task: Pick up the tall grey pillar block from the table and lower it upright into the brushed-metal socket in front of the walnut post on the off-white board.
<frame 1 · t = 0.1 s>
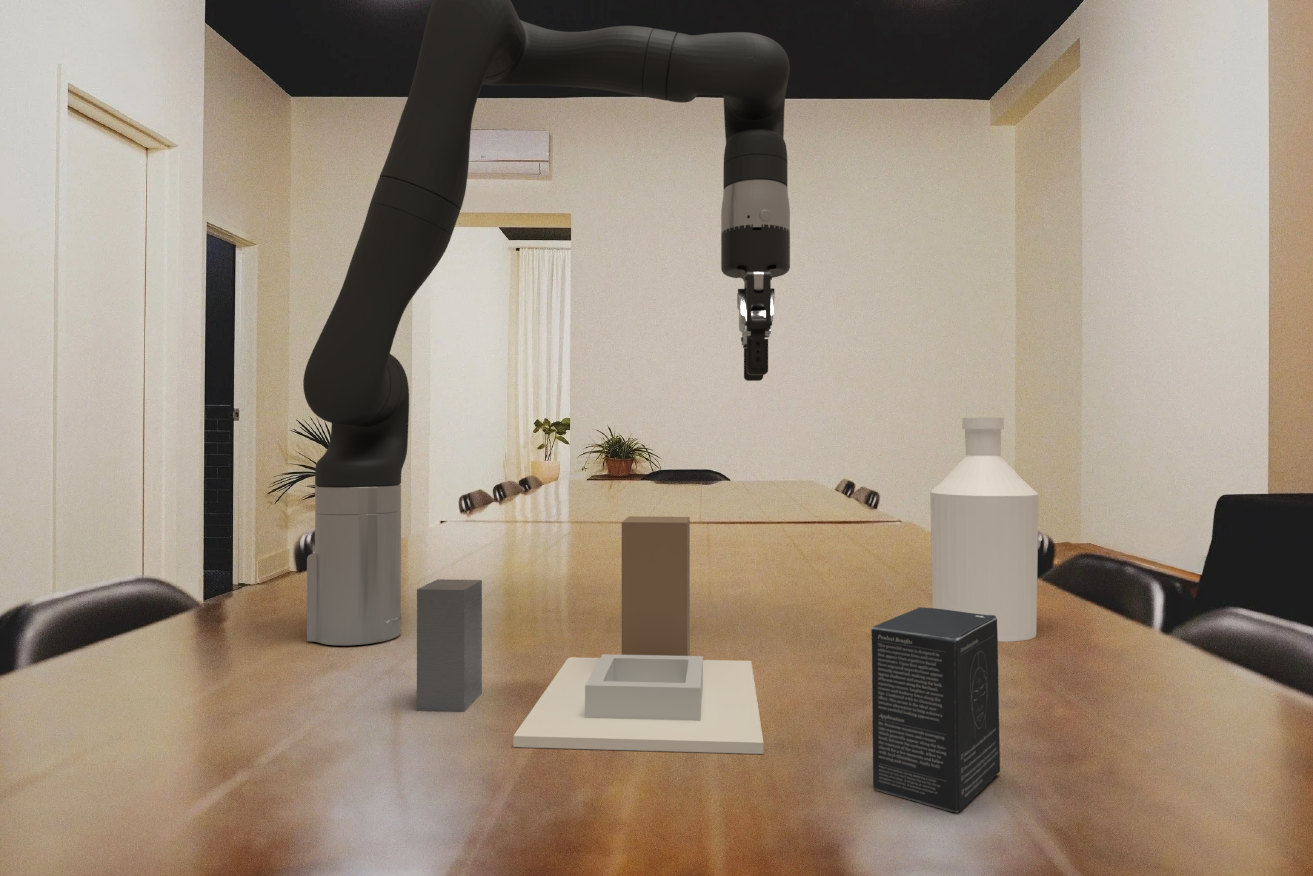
hand: (755, 377, 90), 29 cm above the table, fingers open, 8 cm apart
box: (937, 786, 53), on the table
tall grey pillar block: (450, 701, 70), on the table
post base: (649, 702, 70), on the table
bottle: (983, 631, 97), on the table
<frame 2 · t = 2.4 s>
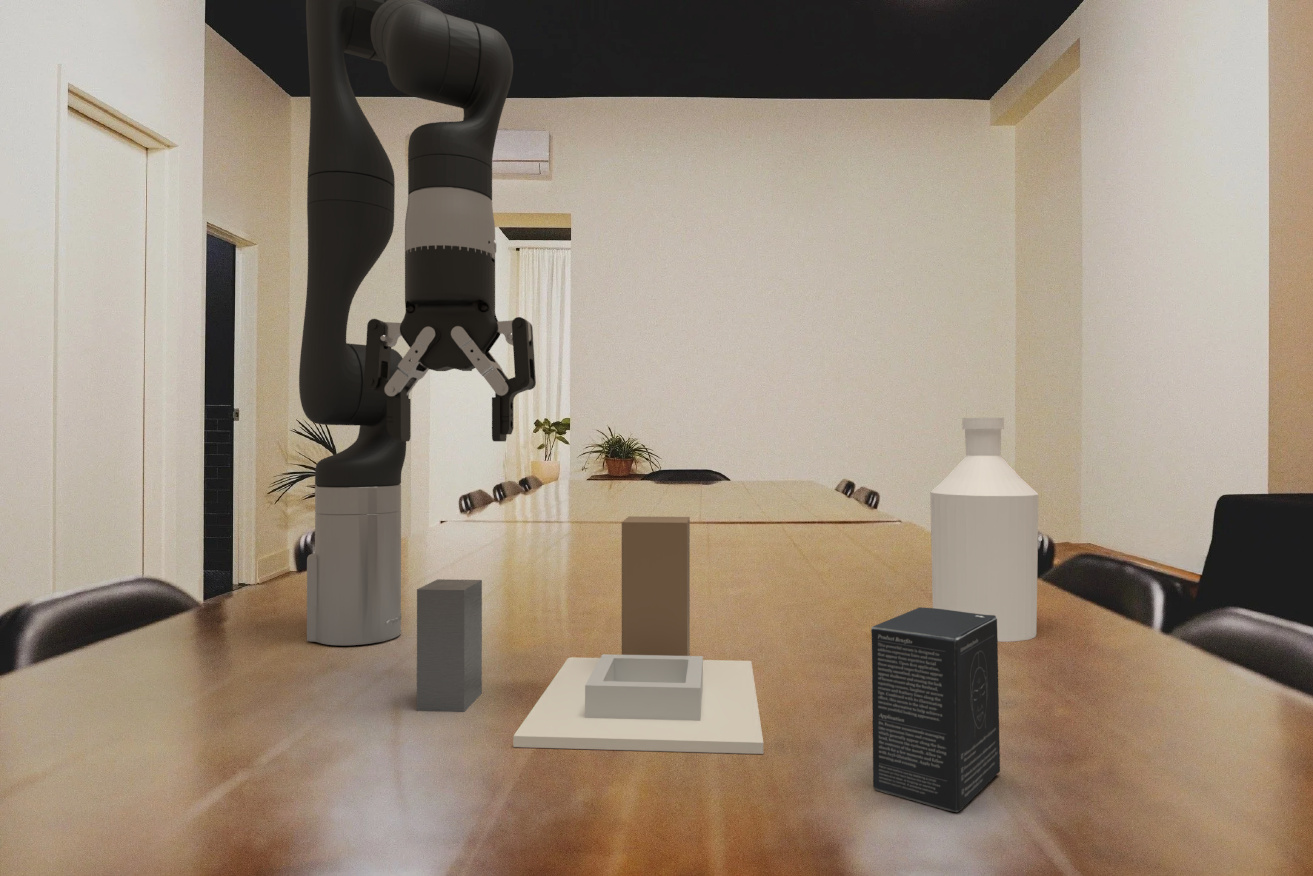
hand: (450, 441, 70), 22 cm above the table, fingers open, 8 cm apart
nothing on the table moved.
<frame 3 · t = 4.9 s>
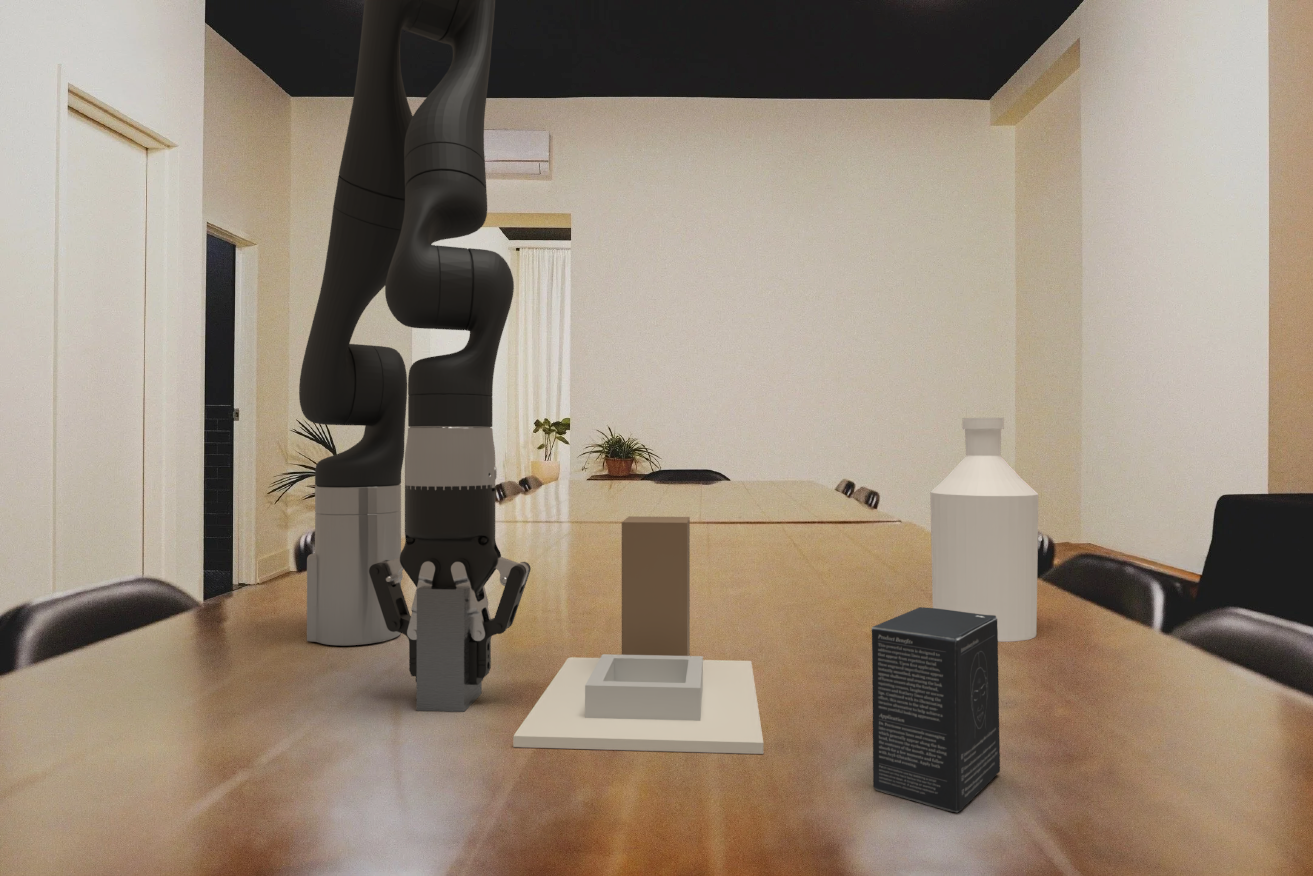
hand: (450, 680, 70), 2 cm above the table, fingers closed on tall grey pillar block, 4 cm apart
tall grey pillar block: (450, 701, 70), on the table, touching gripper
everything else where it was.
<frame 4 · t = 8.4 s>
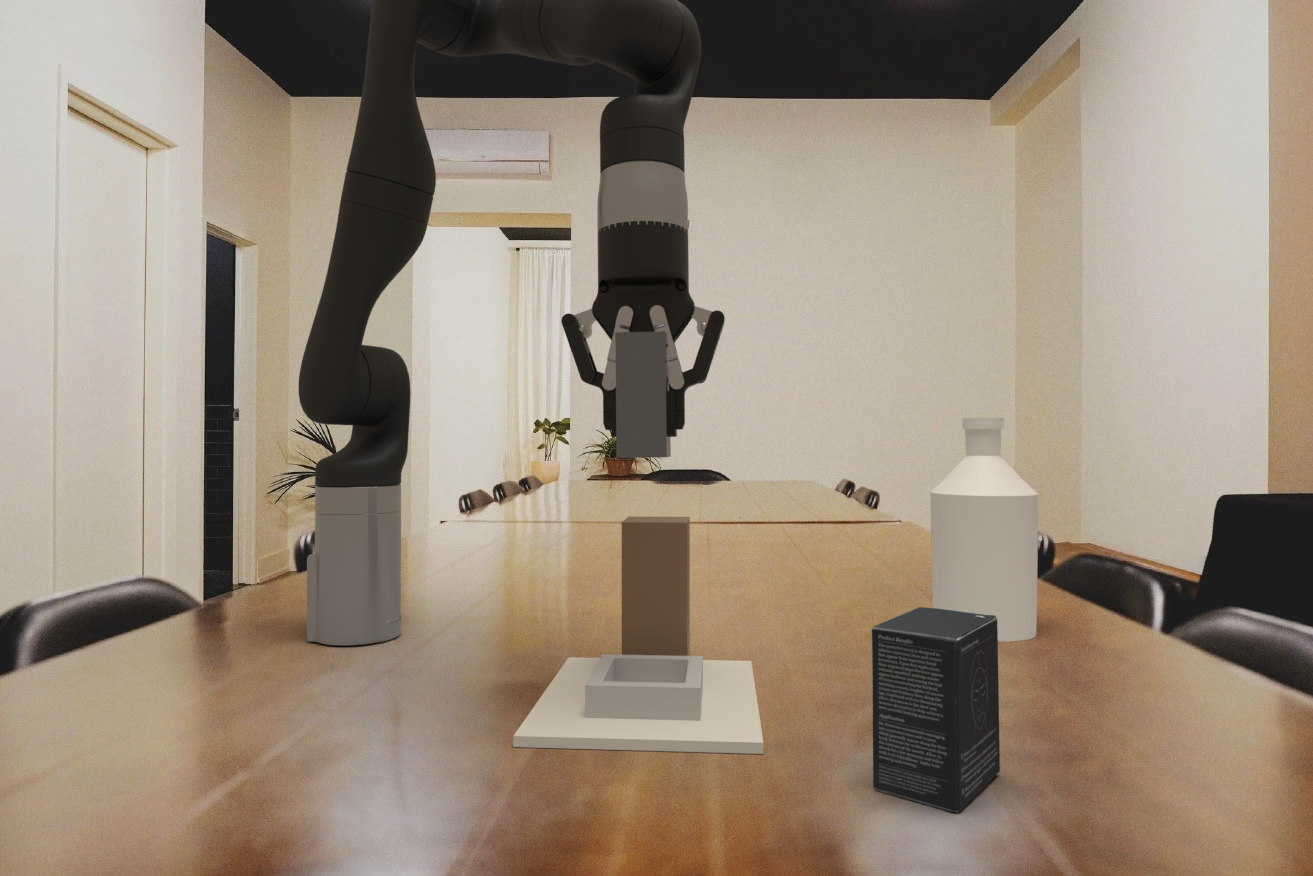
hand: (644, 435, 68), 23 cm above the table, fingers closed on tall grey pillar block, 4 cm apart
tall grey pillar block: (644, 457, 68), point 21 cm above the table, touching gripper
everything else where it was.
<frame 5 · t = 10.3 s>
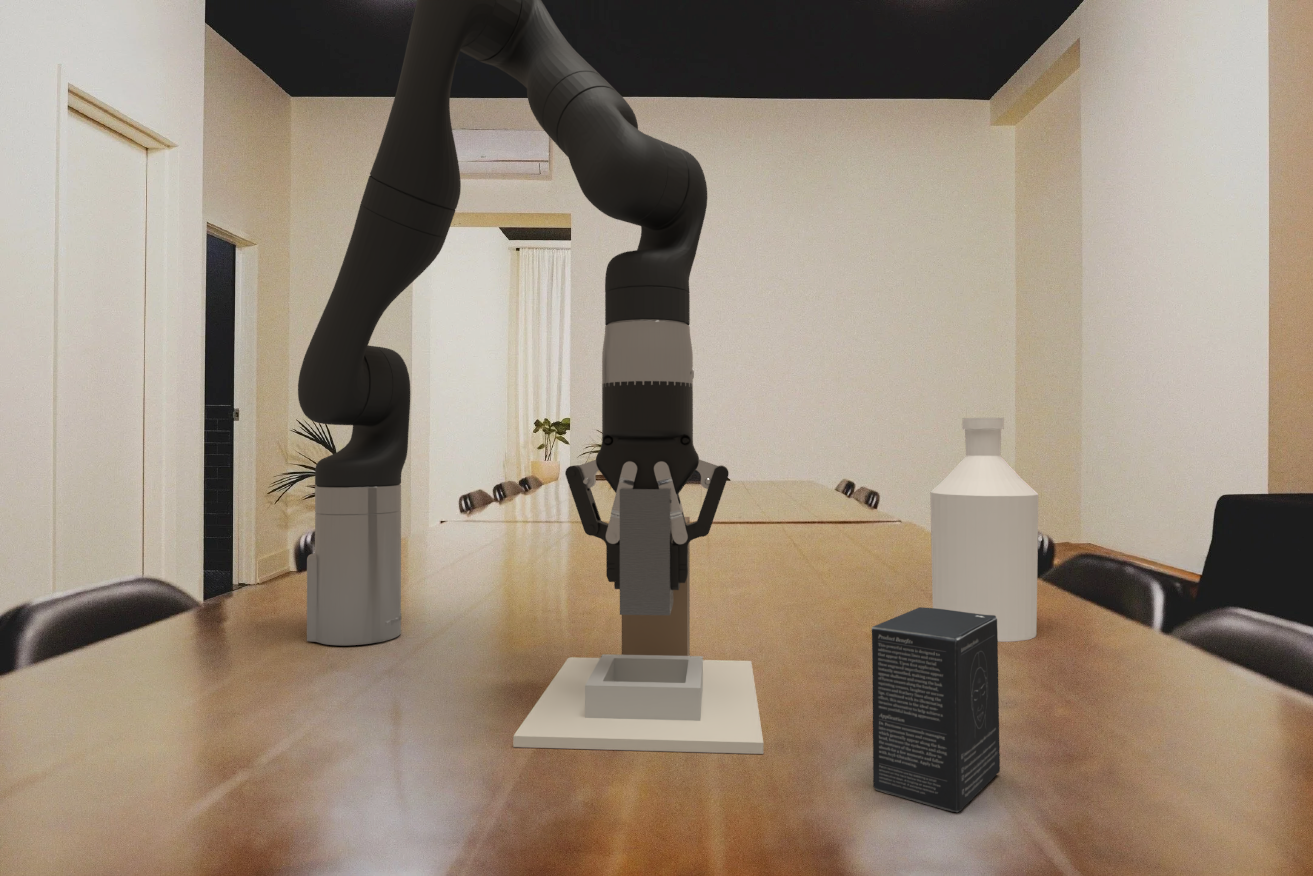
hand: (647, 587, 68), 10 cm above the table, fingers closed on tall grey pillar block, 4 cm apart
tall grey pillar block: (647, 608, 68), point 8 cm above the table, touching gripper
everything else where it was.
when the fingers open (4 cm above the table, at t = 11.9 s): tall grey pillar block drops 1 cm, resting on post base.
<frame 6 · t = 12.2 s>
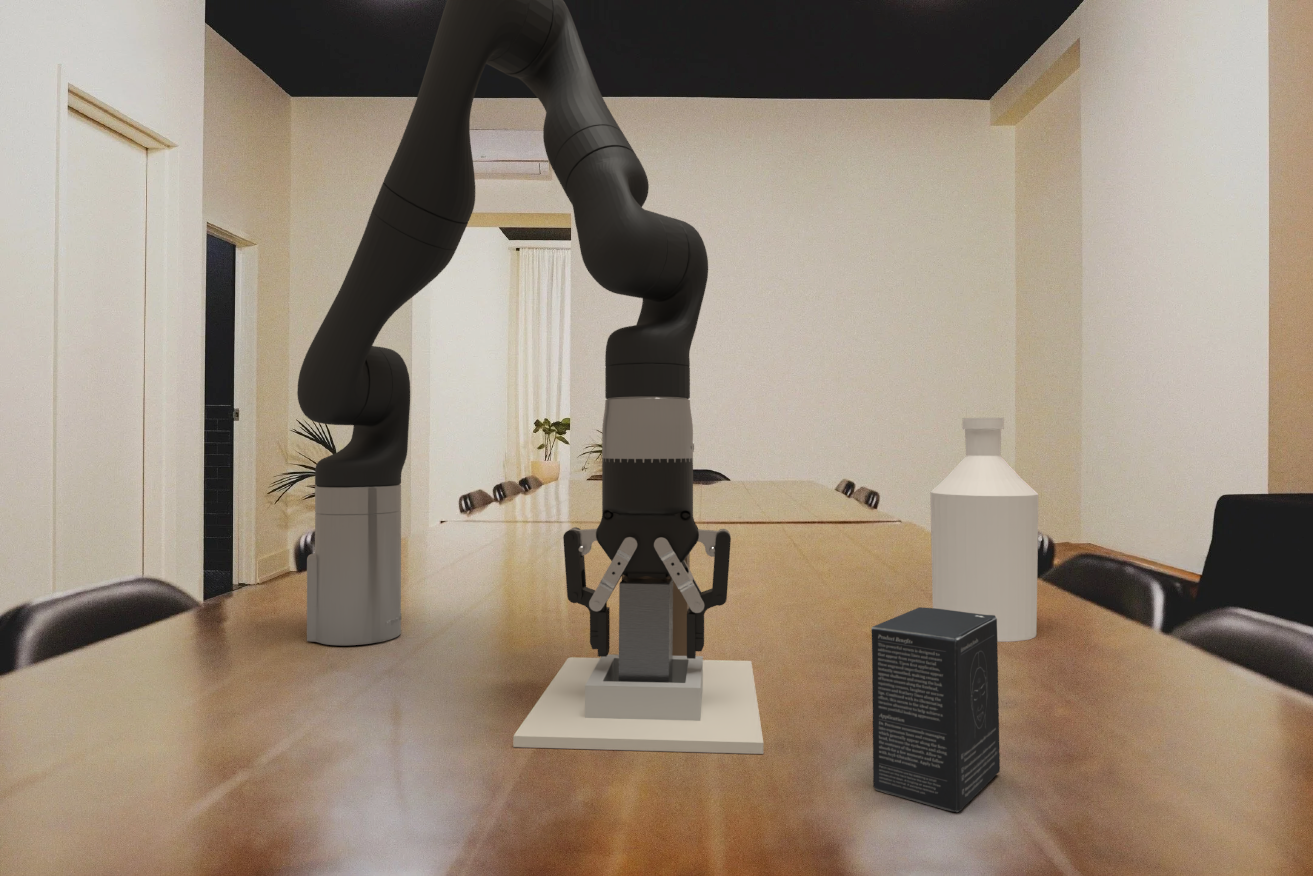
hand: (647, 654, 68), 5 cm above the table, fingers open, 6 cm apart
tall grey pillar block: (646, 700, 68), point 1 cm above the table, touching post base
everything else where it was.
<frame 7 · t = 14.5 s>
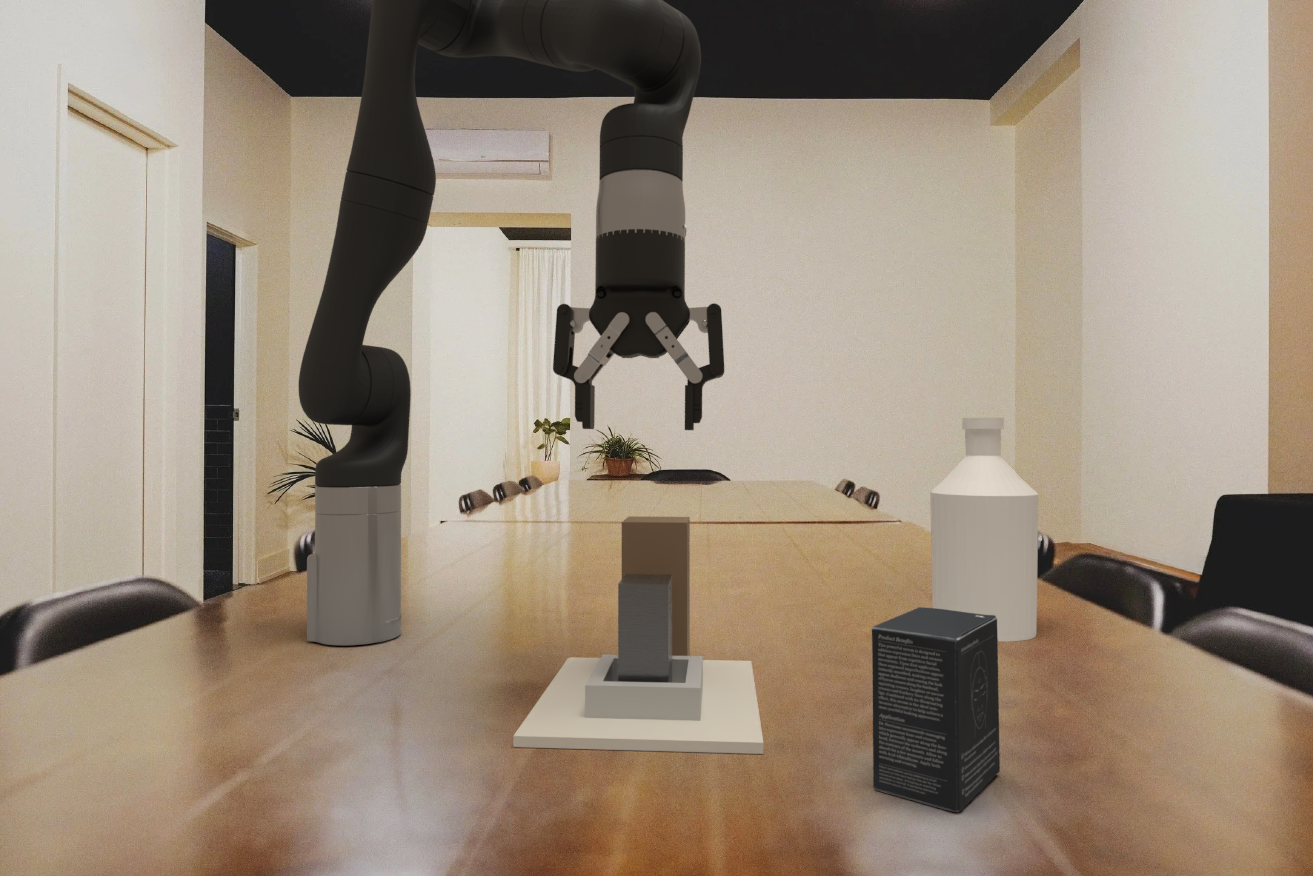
hand: (638, 429, 69), 23 cm above the table, fingers open, 8 cm apart
nothing on the table moved.
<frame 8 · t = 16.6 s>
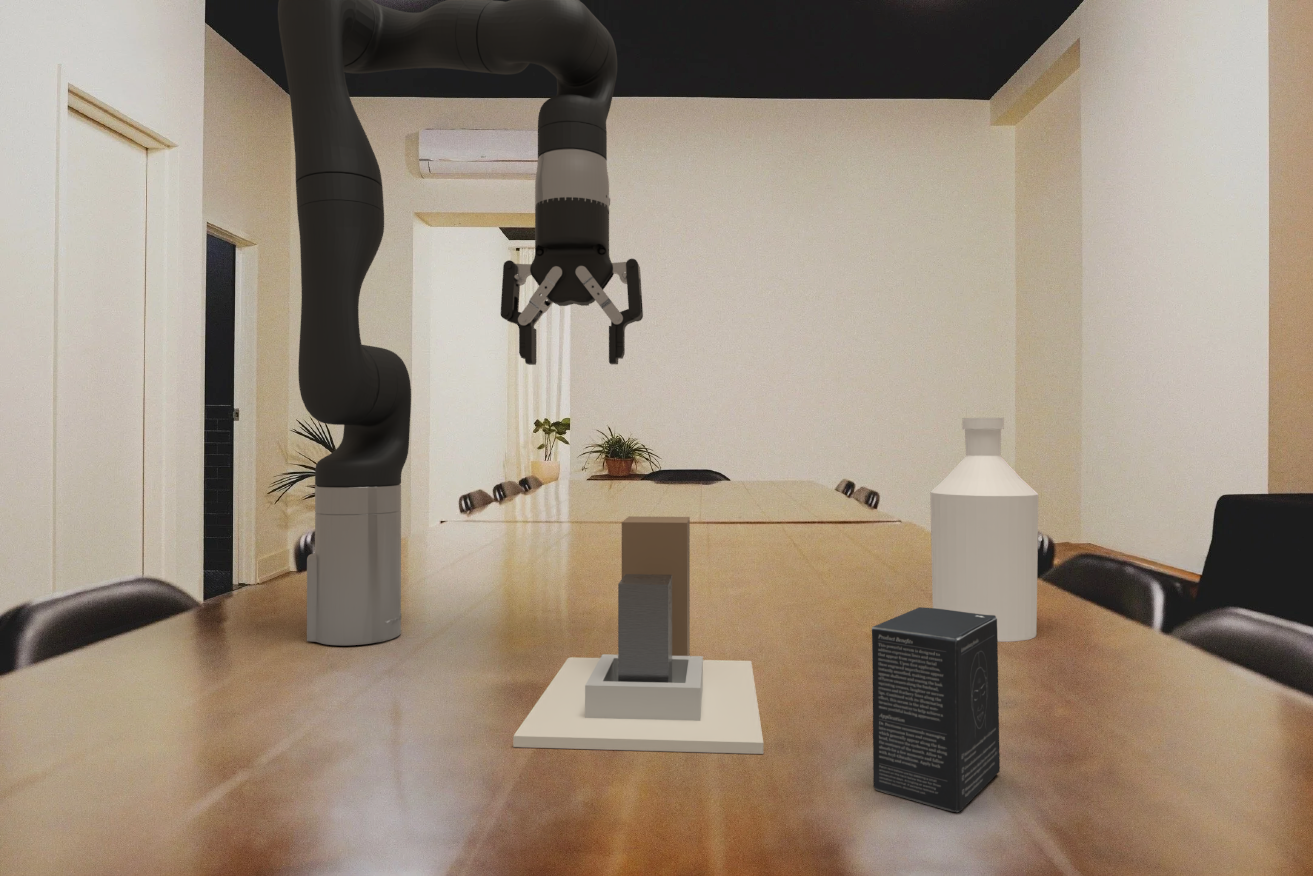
hand: (572, 364, 84), 30 cm above the table, fingers open, 8 cm apart
nothing on the table moved.
at the end: tall grey pillar block 0.1 cm from the target spot on the post base, point 0.8 cm above the post base's base; tall grey pillar block tilted 0°; the gripper is holding nothing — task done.
